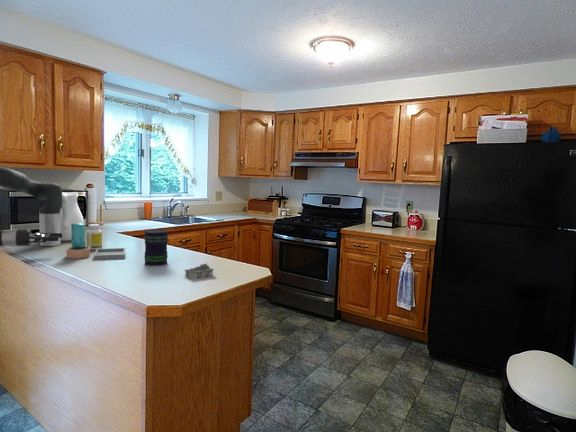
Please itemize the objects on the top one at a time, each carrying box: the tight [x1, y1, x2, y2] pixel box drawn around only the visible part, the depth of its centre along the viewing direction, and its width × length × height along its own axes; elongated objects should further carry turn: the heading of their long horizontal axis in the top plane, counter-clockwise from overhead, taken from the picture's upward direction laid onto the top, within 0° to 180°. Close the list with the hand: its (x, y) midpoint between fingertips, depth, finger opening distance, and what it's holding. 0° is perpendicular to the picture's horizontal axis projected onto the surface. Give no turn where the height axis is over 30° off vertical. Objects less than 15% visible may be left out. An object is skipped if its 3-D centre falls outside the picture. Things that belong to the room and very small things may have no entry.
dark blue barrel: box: [143, 229, 169, 267], centre depth 156 cm, size 10×10×15 cm
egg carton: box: [184, 263, 215, 280], centre depth 140 cm, size 11×8×4 cm
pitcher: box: [60, 191, 85, 242], centre depth 200 cm, size 24×17×28 cm
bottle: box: [70, 222, 86, 250], centre depth 162 cm, size 6×6×15 cm
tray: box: [93, 247, 126, 261], centre depth 168 cm, size 16×13×2 cm
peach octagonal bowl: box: [65, 245, 91, 260], centre depth 163 cm, size 9×9×4 cm
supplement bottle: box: [85, 223, 103, 251], centre depth 181 cm, size 7×7×13 cm
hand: (60, 236), depth 159 cm, fingers open, 8 cm apart
